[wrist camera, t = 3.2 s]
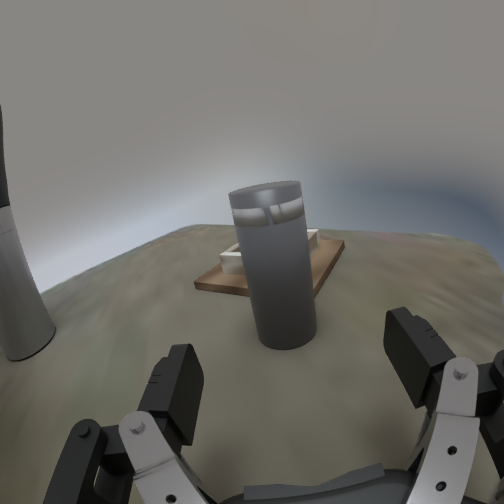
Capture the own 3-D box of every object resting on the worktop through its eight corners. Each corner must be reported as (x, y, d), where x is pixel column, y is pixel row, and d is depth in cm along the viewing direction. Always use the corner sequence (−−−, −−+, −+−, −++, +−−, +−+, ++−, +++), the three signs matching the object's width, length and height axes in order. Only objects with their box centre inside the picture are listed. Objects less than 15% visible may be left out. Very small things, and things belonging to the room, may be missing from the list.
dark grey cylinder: (247, 343, 22) (213, 198, 18) (274, 311, 26) (251, 184, 22) (303, 354, 19) (282, 191, 15) (324, 317, 23) (309, 178, 19)
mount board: (195, 288, 34) (188, 263, 32) (254, 245, 45) (250, 225, 44) (310, 303, 26) (307, 271, 25) (344, 246, 37) (342, 223, 36)
